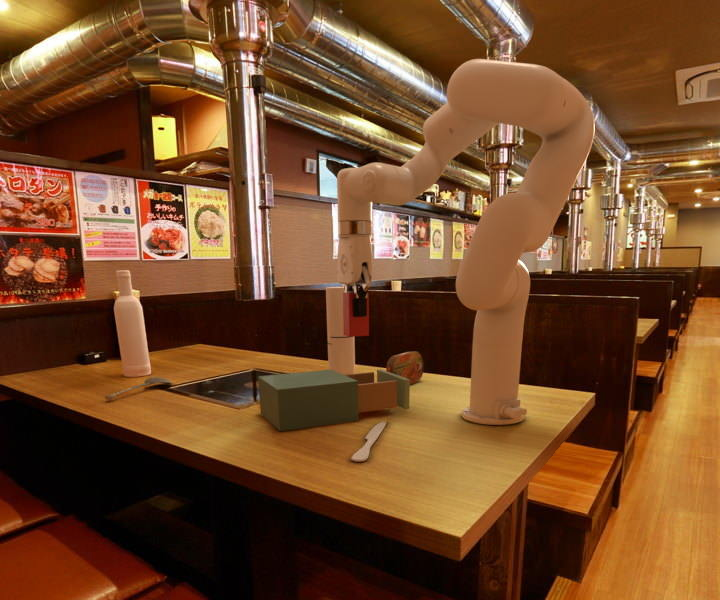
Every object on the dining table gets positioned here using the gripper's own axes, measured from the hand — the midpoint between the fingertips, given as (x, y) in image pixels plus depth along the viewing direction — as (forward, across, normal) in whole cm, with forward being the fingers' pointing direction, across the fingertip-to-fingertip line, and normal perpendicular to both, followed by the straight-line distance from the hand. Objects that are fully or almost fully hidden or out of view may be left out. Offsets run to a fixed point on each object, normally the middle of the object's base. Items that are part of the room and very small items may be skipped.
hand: (356, 315), depth 129 cm
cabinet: (+19, +12, -17) cm, 29 cm away
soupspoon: (+20, -32, -47) cm, 61 cm away
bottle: (+20, -59, -46) cm, 78 cm away
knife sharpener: (+5, 0, 0) cm, 5 cm away
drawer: (+18, +13, -4) cm, 23 cm away
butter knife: (+19, +33, -12) cm, 40 cm away
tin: (+20, -7, +17) cm, 27 cm away
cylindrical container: (+20, -17, +3) cm, 27 cm away
